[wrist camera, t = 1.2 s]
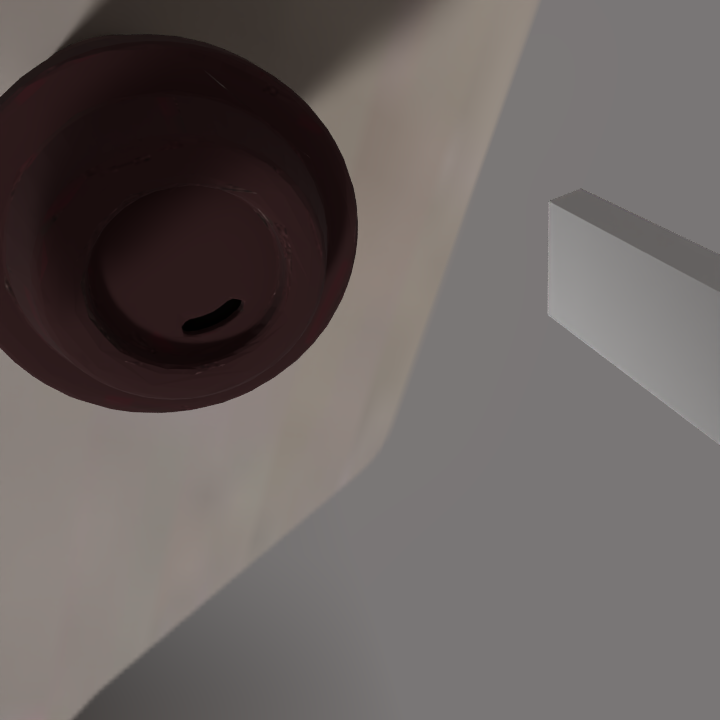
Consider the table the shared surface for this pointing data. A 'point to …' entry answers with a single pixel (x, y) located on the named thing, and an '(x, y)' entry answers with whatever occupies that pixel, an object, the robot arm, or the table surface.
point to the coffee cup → (166, 224)
